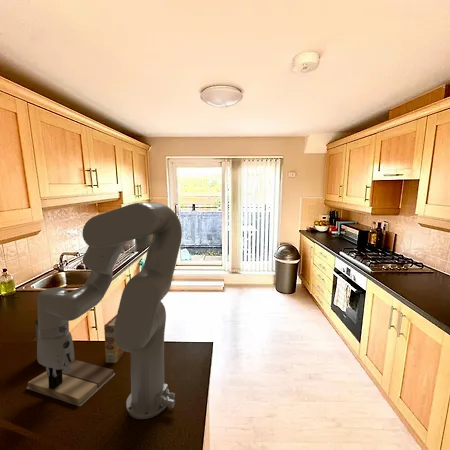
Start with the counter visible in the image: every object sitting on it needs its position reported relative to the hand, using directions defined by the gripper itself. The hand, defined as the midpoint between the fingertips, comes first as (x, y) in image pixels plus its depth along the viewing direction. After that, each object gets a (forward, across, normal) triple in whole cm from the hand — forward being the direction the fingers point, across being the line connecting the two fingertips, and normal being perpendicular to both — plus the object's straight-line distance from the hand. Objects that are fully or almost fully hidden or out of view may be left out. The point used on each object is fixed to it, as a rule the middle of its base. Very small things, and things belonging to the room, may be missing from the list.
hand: (55, 385), depth 75 cm
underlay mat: (+3, -1, -5) cm, 6 cm away
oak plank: (+2, -1, -1) cm, 2 cm away
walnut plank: (+2, -1, -8) cm, 9 cm away
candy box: (+3, -5, -20) cm, 21 cm away
